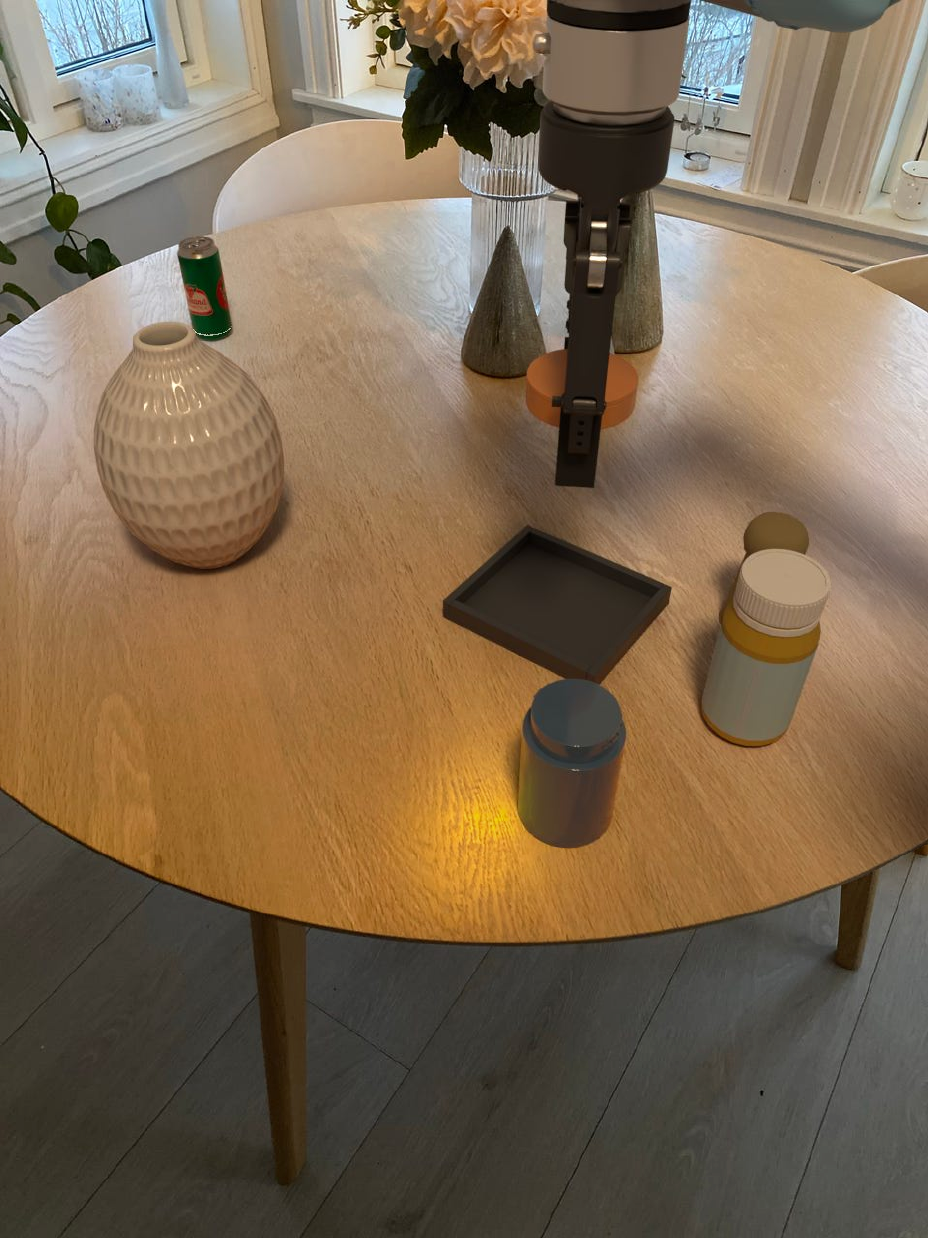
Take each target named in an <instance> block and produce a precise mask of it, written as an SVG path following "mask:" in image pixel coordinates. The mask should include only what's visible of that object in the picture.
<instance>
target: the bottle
mask: <svg viewBox="0 0 928 1238" xmlns="http://www.w3.org/2000/svg"><path fill="white" fill-rule="evenodd" d="M831 586H832V584H831V577H830V574H829V573H828V571H827V570H826V569H825V568H824V567H823V566H822V564H821V563H819V562H818V561H816V560H815V559H814V558H812V557H810V556H808V555H806V554H805V555H804V554H801V553H798V552H795V551H791V550H785V549H767V550H762V551H759V552H756V553H754V554H752V555H750V556H749V557H748V558H747V559H746V560H745V562H744V563H743V565H742V566H741V570H740V574H739V577H738V581H737V585H736V591H735V594H734V598H733V600H732V601H731V602H730V603H729V604H728V606H727V607H726V608H725V611H724V614H723V617H722V621H721V624H720V625H719V630H718V633H717V638H716V640H715V645H714V649H713V653H712V657H711V661H710V665H709V669H708V673H707V676H706V677H707V678H706V681H705V685H704V689H703V693H702V697H701V704H700V711H701V715H702V717H703V719H704V721H705V722H706V724H707V726H708V727H709V728H710V729H711V730H712V731H714V732H715V733H716V734H717V735H718V736H719V737H721V738H722V739H724V740H725V741H728V742H730V743H732V744H735V745H739V746H743V747H761V746H762V747H763V746H765V745H770V744H773V743H775V742H776V741H779V740H780V739H781V738H783V736H784V735H786V733H787V731H788V730H789V727H790V726H791V723H792V721H793V717H794V715H795V712H796V708H797V706H798V703H799V701H800V698H801V695H802V691H803V689H804V686H805V683H806V680H807V679H808V675H809V672H810V669H811V667H812V664H813V661H814V658H815V656H816V652H817V649H818V647H819V644H820V643H819V642H820V640H821V633H822V630H821V623H820V621H821V620H820V619H821V617H822V614H823V613H824V610H825V608H826V604H827V602H828V599H829V595H830V593H831V589H832V587H831Z"/></svg>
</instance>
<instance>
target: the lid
mask: <svg viewBox="0 0 928 1238" xmlns="http://www.w3.org/2000/svg"><path fill="white" fill-rule="evenodd" d="M567 352H568V349H564V348H563V349H557V350H552V351H550V352H547V353H544V354H542V355H540V356H538V357H536V358H535V359H534V360H533V361H532V362H531V363H530V364H529V365H528V367H527V370H526V378H525V379H526V381H525V404H526V407H527V409H528V411H529V412H530V414H531V415H532V416H534V417H535V418H536V419H538V420H539V421H541V422H542V423H544V424H547V425H549V426H551V427H554V428H558V429H559V423H560V410H561V407H552V396H562V394H563V392H565V379H566V365H567ZM638 386H639V373H638V371H637V369H636V368H635V367H634V366H633V365H632V363H630V362H629V361H628V360H626V359H625V358H623V357H621V356H619V355H617V354H614V353H612V352H610V354H609V364H608V374H607V383H606V393H605V402H606V410H605V411H604V414H603V416H602V422H601V431H602V430H606V429H609V428H613V427H616V426H618V425H620V424H623V422H625V421H626V420H628V419H629V418H630V417H631V416H632V415H633V413H634V411H635V408H636V401H637V394H638V388H639V387H638Z"/></svg>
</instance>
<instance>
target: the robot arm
mask: <svg viewBox="0 0 928 1238" xmlns="http://www.w3.org/2000/svg"><path fill="white" fill-rule="evenodd" d="M699 1H700V2H703V3H707V4H712V5H714V6H719V7H721V8H725V9H729V10H732V11H736V12H740V13H743V14H746V15H750V16H753V17H757V18H760V19H762V20H764V21H766V22H768V23H771V22H774V24H775V25H776V26H777V27H779V28H784V29H789V30H793V31H798V30H801V29H805V28H806V29H807V28H808V29H814V30H819V31H823V32H824V31H825V32H829V33H834V34H835V33H836V34H846V33H853V32H857V31H861V30H864V29H866V28H869V27H871V26H872V25H874V24H875V23H877V22H878V21H879V20H881V18H882V17H883V16H884V15H885V11H887V10H888V9H889V8H890V7H892V6H894V5H895V4H897V3H901V1H902V0H699ZM691 3H692V0H546V19H545V20H546V21H545V26H546V30H547V32H543V33H536V34H535V35H534V38H533V40H532V50H533V51H534V52H535V53H536V54H539V55H547V56H546V57H545V59H544V62H543V75H542V77H543V78H542V93H543V95H544V96H545V98H547V100H548V102H547V103H546V104H545V105H544V107H543V108H542V109H541V110H540V115H539V133H538V153H537V169H538V173H539V175H540V176H541V178H542V179H543V180H544V181H545V182H546V183H547V184H549V185H550V186H552V187H554V188H557V189H558V190H561V191H564V192H566V191H569V192H572V193H574V194H576V195H577V197H576V200H565V212H564V225H563V245H564V247H565V248H566V249H565V250H566V251H565V270H564V284H563V286H564V290H565V292H566V293H567V294H569V298H568V300H566V309H567V310H568V311H567V313H568V314H567V315H568V317H567V318H566V320H565V327H564V328H565V329H566V331H567V332H566V333H567V334H568V336H564V343H563V349H568V352H567V365H566V379H565V392H563V394H562V396H552V407H561V410H560V423H559V428H558V437H557V447H556V449H557V451H556V461H555V474H554V487H569V488H585V489H587V488H588V489H594V488H595V482H596V474H597V467H598V466H597V465H598V455H599V447H600V440H601V439H600V438H601V431H602V430H601V422H602V416H603V414H604V411H605V410H606V402H605V393H606V383H607V374H608V364H609V354H610V353H611V345H612V344H611V343H612V336H613V326H614V325H613V324H614V315H615V304H616V297H617V296H618V295H619V294H620V292H621V291H622V286H623V285H622V283H623V275H624V274H623V273H624V262H625V254H626V250H627V249H628V248H629V247H630V243H631V233H632V218H630V217H631V216H630V215H631V202H621V200H623V199H624V198H625V197H627V196H630V195H632V194H635V193H636V194H642V193H645V192H647V191H650V190H652V189H655V188H656V187H657V186H659V185H660V184H661V183H662V182H663V181H664V179H665V178H666V176H667V174H668V170H669V162H670V154H671V146H672V141H673V140H672V139H673V135H674V126H675V115H674V113H673V112H672V110H671V108H670V107H669V106H671V105H673V104H674V103H675V102H676V101H677V100H678V98H679V96H680V90H681V84H682V76H683V69H684V62H685V55H686V47H687V40H688V35H689V34H688V33H689V27H690V10H691Z"/></svg>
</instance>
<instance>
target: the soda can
mask: <svg viewBox="0 0 928 1238" xmlns="http://www.w3.org/2000/svg"><path fill="white" fill-rule="evenodd" d="M177 245H178V249H177V251H176V255H177V261H178V265H179V270H180V275H181V280H182V285H183V289H184V294H185V299H186V305H187V308H188V313H189V318H190V323H191V328H193V329H194V330H195V331H196V332H197V333H201V334H206V335H207V334H208V335H210V334H218V333H222V334H219V335H213V336H204V335H199V334H197V333H196V336H197V338H198V339H199V340H202V341H206V342H214V341H220V340H223V339H226V338H228V336H229V335H230V334H231V333H232V331H233V323H232V322H233V321H232V317H231V310H230V306H229V299H228V293H227V289H226V283H225V277H224V271H223V266H222V260H221V255H220V250H219V247H218V246H217V245H216V243H215V239H213V238H211V237H209V236H205V235H195V236H190V237H186V238H184V239H181V240H180V241H179V242H178V244H177ZM231 326H232V327H231ZM229 328H231V329H230V330H228V329H229ZM227 330H228V331H227ZM225 331H227V332H225ZM223 332H225V333H223Z"/></svg>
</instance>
